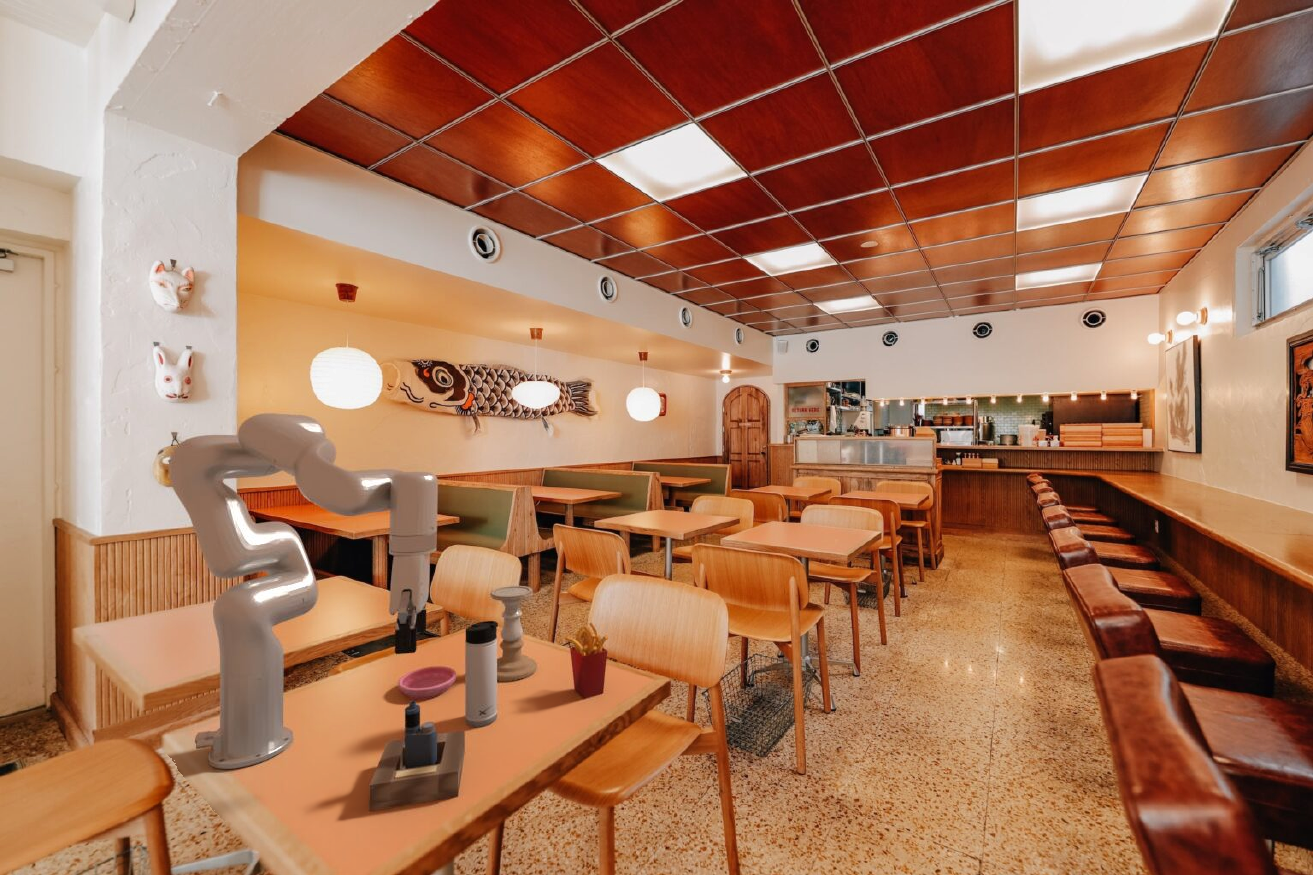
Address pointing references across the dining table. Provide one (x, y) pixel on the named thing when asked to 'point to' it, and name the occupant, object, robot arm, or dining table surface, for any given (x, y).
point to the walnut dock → (417, 774)
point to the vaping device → (419, 739)
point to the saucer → (427, 682)
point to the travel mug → (481, 674)
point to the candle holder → (513, 635)
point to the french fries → (588, 662)
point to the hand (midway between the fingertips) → (411, 641)
